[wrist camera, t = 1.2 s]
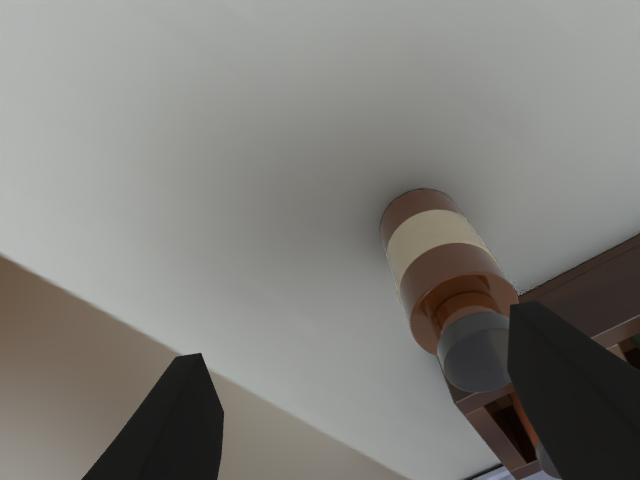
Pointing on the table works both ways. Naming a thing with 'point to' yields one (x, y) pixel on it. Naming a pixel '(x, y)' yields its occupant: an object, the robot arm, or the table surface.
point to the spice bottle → (449, 288)
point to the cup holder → (584, 314)
